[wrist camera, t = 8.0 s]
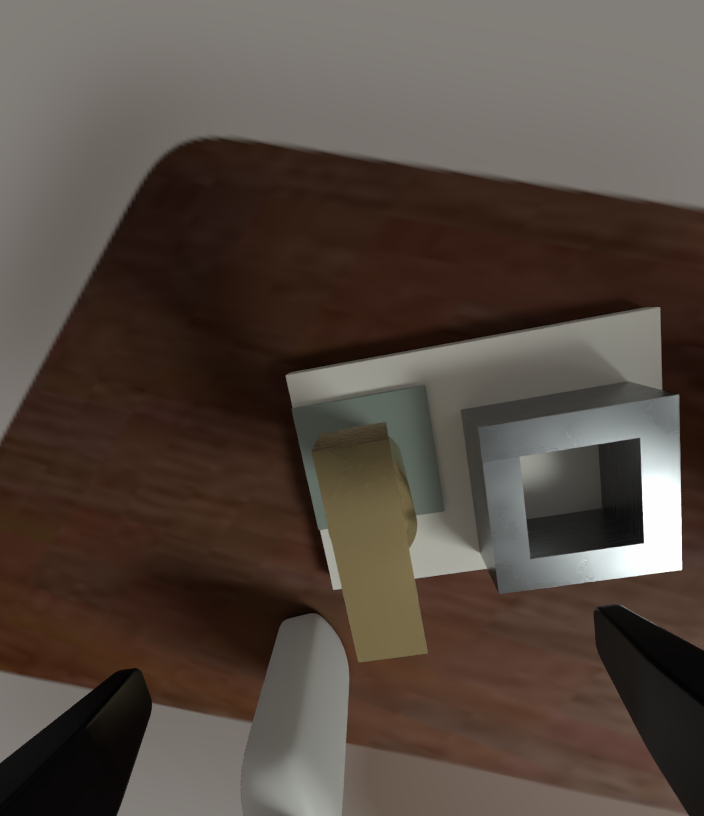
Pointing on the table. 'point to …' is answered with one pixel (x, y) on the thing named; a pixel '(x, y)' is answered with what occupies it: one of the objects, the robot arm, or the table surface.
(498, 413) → the grey square frame
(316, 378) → the board
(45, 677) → the table surface
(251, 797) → the eye dropper bottle
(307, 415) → the mat
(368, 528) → the tan flat lever
